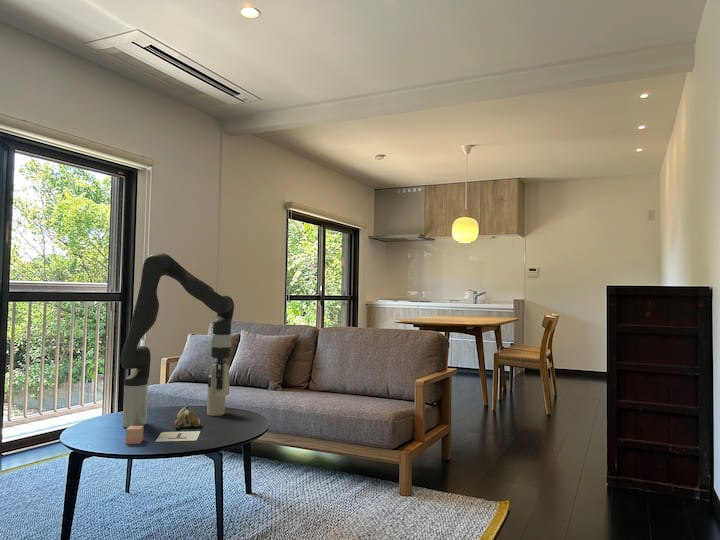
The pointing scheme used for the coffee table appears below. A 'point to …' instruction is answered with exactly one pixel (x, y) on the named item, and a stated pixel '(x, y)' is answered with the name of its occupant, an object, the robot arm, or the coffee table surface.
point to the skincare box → (225, 381)
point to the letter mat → (178, 436)
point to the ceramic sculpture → (186, 418)
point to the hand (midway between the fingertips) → (219, 387)
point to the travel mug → (215, 403)
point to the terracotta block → (134, 434)
